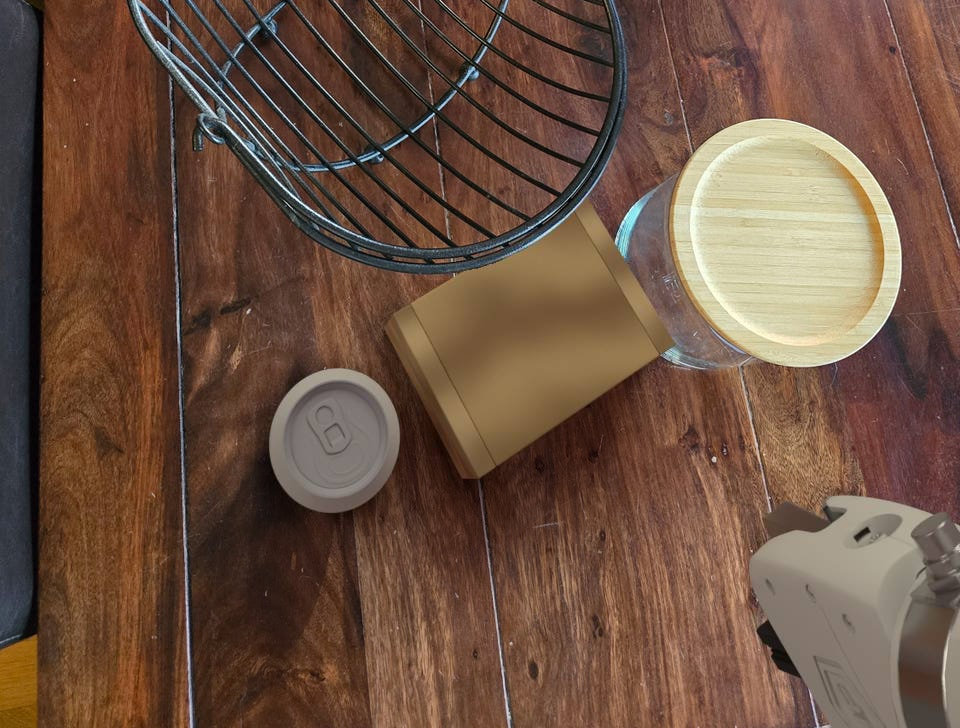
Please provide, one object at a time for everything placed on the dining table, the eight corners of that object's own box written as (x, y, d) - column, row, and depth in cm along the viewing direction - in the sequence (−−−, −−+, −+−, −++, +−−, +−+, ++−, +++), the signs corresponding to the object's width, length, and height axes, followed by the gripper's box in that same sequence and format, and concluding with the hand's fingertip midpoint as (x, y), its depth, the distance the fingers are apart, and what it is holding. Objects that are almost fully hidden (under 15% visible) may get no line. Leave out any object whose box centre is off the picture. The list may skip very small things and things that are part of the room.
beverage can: (306, 533, 67) (308, 544, 57) (251, 423, 70) (244, 414, 59) (406, 463, 70) (427, 461, 59) (351, 359, 72) (361, 339, 62)
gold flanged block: (644, 355, 75) (676, 344, 69) (461, 479, 70) (478, 479, 64) (563, 218, 78) (586, 196, 72) (383, 327, 73) (392, 314, 67)
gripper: (784, 522, 35) (627, 508, 51) (1128, 1088, 30) (833, 874, 46) (958, 385, 37) (756, 413, 53) (1301, 884, 32) (965, 749, 48)
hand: (792, 626), depth 49 cm, fingers closed
